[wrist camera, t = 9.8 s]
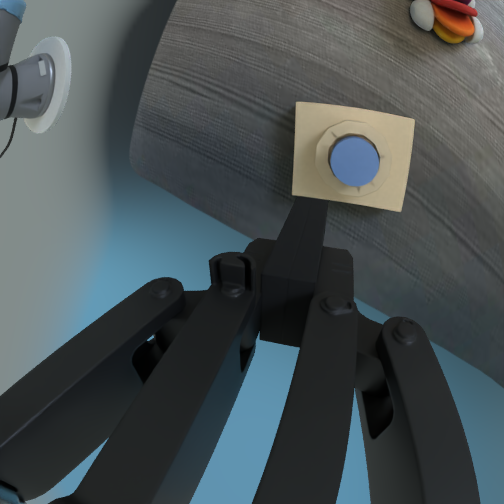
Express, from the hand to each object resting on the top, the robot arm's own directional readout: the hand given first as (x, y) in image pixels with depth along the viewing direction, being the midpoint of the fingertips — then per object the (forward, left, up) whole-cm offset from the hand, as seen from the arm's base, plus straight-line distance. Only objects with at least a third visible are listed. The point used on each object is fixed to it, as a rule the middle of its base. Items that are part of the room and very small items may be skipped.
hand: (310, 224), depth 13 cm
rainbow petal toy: (+13, +21, -18) cm, 31 cm away
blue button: (+3, +1, -14) cm, 14 cm away
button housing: (+3, +1, -18) cm, 18 cm away
